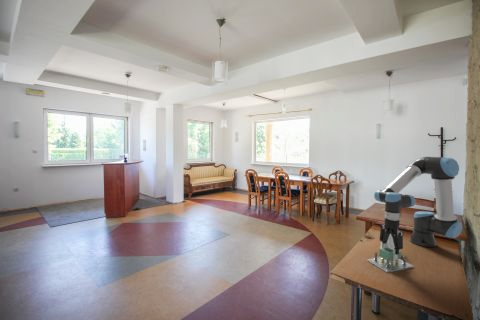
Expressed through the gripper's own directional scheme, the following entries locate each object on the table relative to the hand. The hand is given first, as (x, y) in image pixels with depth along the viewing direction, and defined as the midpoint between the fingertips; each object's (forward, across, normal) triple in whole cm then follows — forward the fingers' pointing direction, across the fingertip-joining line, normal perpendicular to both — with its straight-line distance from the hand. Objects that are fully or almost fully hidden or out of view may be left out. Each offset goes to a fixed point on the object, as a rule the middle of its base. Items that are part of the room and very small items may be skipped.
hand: (390, 256), depth 141 cm
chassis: (+5, 0, 0) cm, 5 cm away
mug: (+5, -15, +15) cm, 22 cm away
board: (+1, 0, 0) cm, 1 cm away
